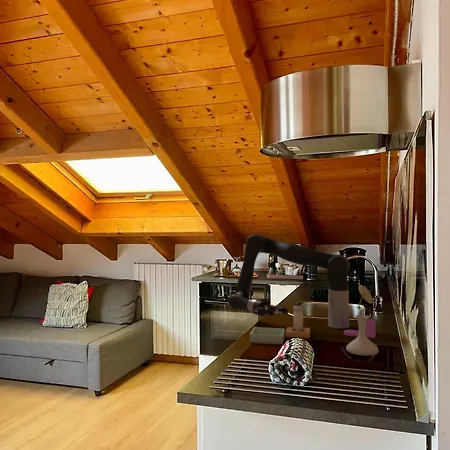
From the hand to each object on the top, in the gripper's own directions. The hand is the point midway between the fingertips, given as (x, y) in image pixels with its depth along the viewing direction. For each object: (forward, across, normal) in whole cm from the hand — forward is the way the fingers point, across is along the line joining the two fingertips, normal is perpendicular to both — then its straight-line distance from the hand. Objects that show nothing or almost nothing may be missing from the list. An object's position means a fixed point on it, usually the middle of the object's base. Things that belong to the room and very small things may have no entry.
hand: (280, 312), depth 205 cm
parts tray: (+11, -17, +8) cm, 22 cm away
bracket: (+26, +22, +8) cm, 35 cm away
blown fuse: (+11, 0, +8) cm, 14 cm away
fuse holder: (+11, 0, +8) cm, 14 cm away
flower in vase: (+46, 0, +8) cm, 47 cm away
